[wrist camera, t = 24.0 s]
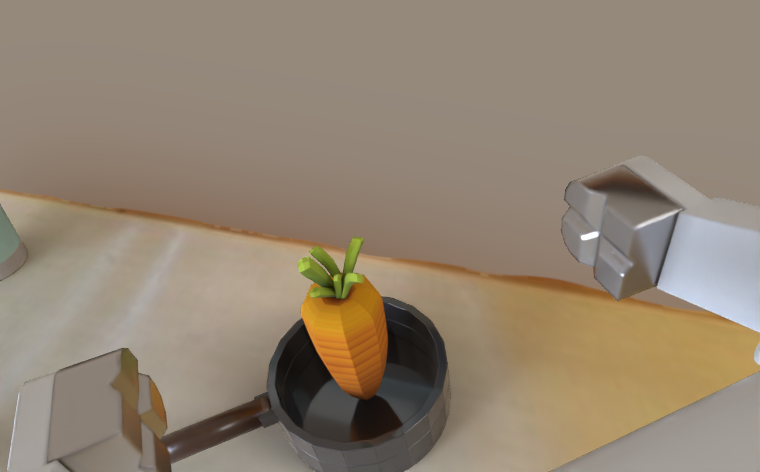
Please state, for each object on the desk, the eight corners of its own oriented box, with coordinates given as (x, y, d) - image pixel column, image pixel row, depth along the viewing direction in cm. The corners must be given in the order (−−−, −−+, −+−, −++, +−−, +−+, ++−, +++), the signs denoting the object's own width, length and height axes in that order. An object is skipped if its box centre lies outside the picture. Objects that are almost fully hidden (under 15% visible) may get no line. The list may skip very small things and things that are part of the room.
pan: (308, 514, 35) (291, 484, 32) (268, 367, 44) (252, 331, 40) (481, 437, 37) (480, 401, 34) (409, 311, 46) (403, 274, 43)
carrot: (395, 361, 42) (364, 209, 32) (406, 420, 38) (376, 270, 28) (330, 374, 42) (279, 226, 32) (336, 435, 38) (279, 289, 28)
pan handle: (121, 490, 35) (107, 478, 34) (120, 465, 36) (108, 452, 35) (288, 421, 37) (281, 407, 36) (282, 399, 38) (275, 385, 37)
